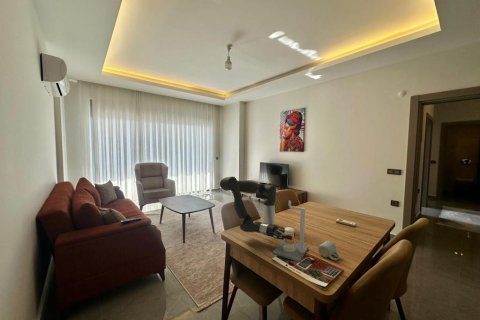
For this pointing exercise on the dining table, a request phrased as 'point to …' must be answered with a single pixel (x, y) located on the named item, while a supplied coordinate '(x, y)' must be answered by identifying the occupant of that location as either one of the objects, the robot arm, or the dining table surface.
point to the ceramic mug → (328, 250)
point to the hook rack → (298, 249)
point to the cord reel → (289, 232)
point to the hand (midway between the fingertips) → (293, 236)
